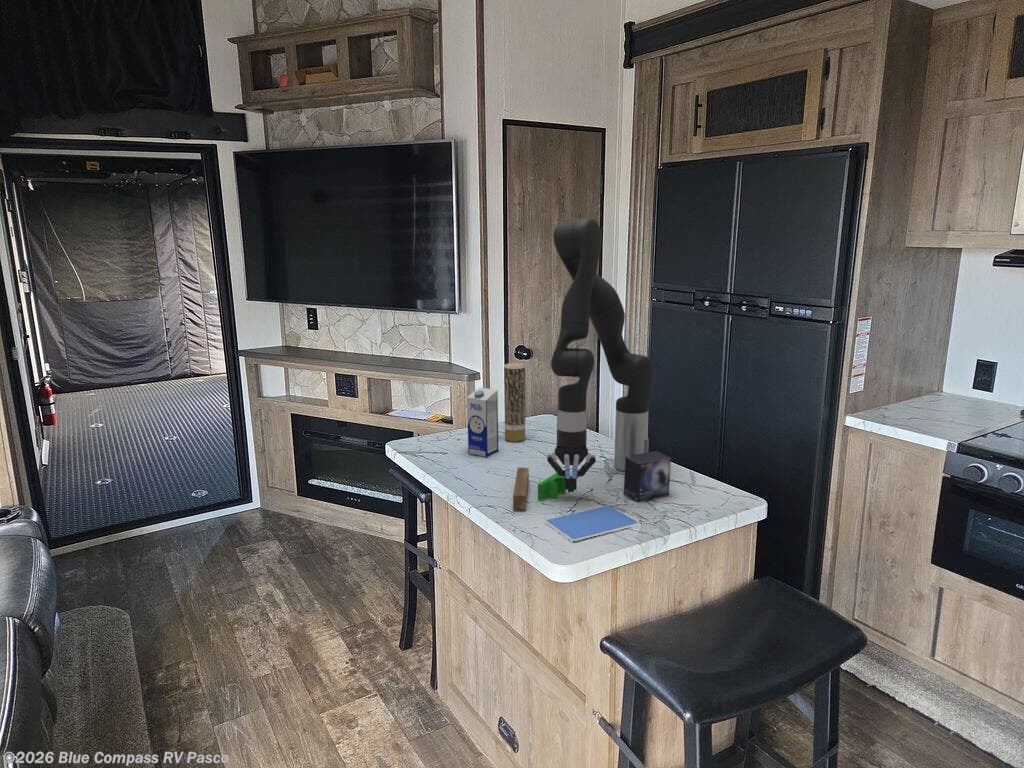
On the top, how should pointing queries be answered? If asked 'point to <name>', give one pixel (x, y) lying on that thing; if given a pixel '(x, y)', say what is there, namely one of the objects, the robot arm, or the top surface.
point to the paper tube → (514, 401)
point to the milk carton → (482, 422)
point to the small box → (647, 476)
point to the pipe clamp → (551, 487)
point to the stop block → (521, 489)
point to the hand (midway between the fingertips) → (570, 490)
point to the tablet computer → (590, 523)
